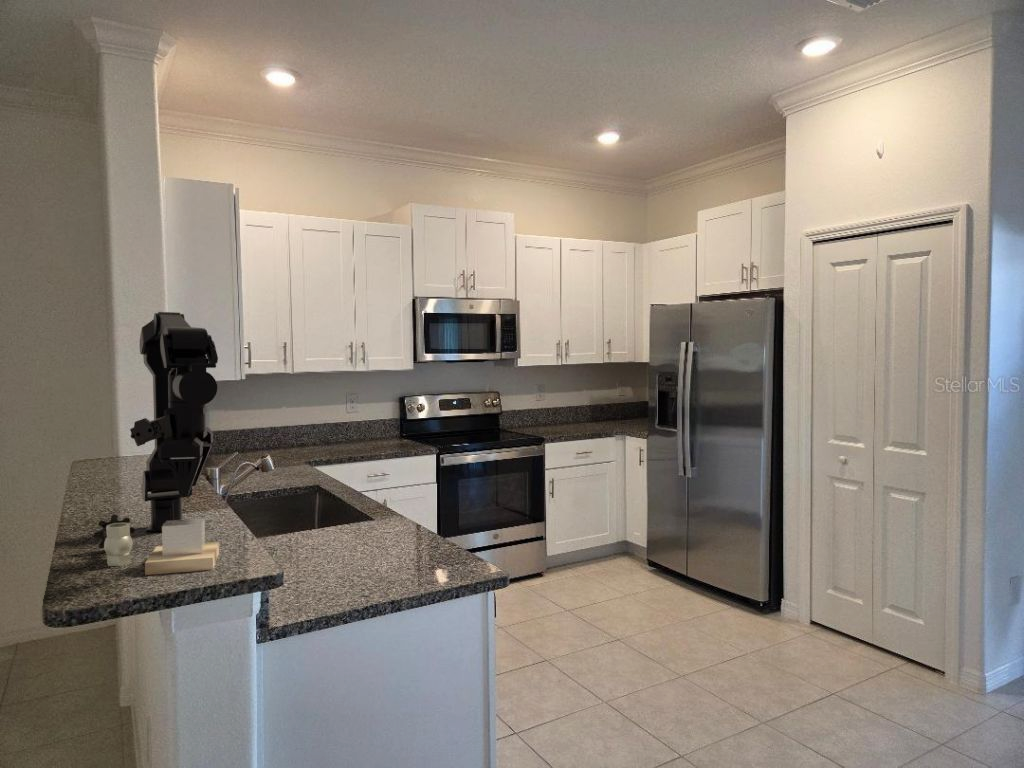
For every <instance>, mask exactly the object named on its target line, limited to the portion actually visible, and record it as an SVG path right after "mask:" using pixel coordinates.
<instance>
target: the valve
mask: <svg viewBox="0 0 1024 768" xmlns="http://www.w3.org/2000/svg"><path fill="white" fill-rule="evenodd" d="M118 518H119V517H118V514H117V513H112V514H111V515H110V520H108V521H106V520H104V519H99V520H98V522H97V525H98V526H99V527H101V528H100V530H94V532H93V533H92V536H93V538H94V539H98V538H100V539H101V540H100V541H99V542H98V543H97V544H98V545H97V546H98V547H99V548H100V549H103V550H104V551H105V553H106V564H108V565H107V566H108V567H121V566H125V565H128V564H131V550H132V548H133V542H134V541H133V538H132V536H131V534H135V533H136V528H135V527H134V526H130V523H131V518H130V517H129V516H124V517H123V519H121V520H120V519H118ZM105 533H106V537H105Z"/></svg>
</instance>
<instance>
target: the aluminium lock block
mask: <svg viewBox="0 0 1024 768" xmlns="http://www.w3.org/2000/svg"><path fill="white" fill-rule="evenodd" d="M205 520H206V518H205V517H204V518H190V519H186V518H185V519H182V520H170V521H166V522H165V523H164V524H163V526H162V531H161V539H162V540H161V543H162V544H161V546H162V556H174V555H188V554H201V553H203V550H204V548H205V543H206V521H205Z"/></svg>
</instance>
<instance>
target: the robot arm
mask: <svg viewBox="0 0 1024 768" xmlns="http://www.w3.org/2000/svg"><path fill="white" fill-rule="evenodd" d="M216 348H217V347H216V344H215V341H214V340H213V339H212V335H211V334H209V333H208V331H207V329H206V328H204V327H193V326H191V325H190V324H189V323H188V322H187V321H186V319H185V315H184V313H181V312H176V311H175V312H173V311H172V312H171V311H167V312H166V311H158V312H155V313H154V315H153V318H152V319H151V320H150V321H148V323H146V324H145V325H144V326H142V327H141V330H140V335H139V353H140V355H142V357H143V364H144V366H145V367H146V368H147V370H148V371H149V372H150V375H151V376H152V388H153V389H152V390H153V391H152V392H153V393H152V394H153V396H152V397H153V420H149V419H148V418H146V417H145V418H141V419H140V420H135V421H134V424H133V427H131V428H129V430H130V438H131V439H132V440H133V441H134V442H135V445H136V447H140V446H144V445H145V444H146V443H149V442H151V441H153V440H154V449H153V451H152V452H151V454H150V455H149V457H147V460H146V462H145V463H146V464H145V465H146V467H145V469H146V470H143V472H142V479H141V487H140V490H141V498H142V500H143V502H149V503H150V505H149V506H150V524H149V525H148V527H146V529H145V532H147V533H148V532H149V533H151V532H152V533H153V532H162V526H163V524H164V523H165V522H166V521H170V520H183V498H190V497H191V496H193V487H195V486H196V485H197V483H198V480H199V478H200V476H201V473H202V471H203V468H204V466H205V463H206V461H207V458H208V456H209V453H210V451H211V449H212V447H213V446H212V443H214V431H213V430H211V428H209V427H208V426H207V427H206V421H207V420H206V413H207V412H208V406H207V404H209V403H210V402H212V401H213V400H214V398H216V395H217V392H218V383H217V381H216V379H215V377H214V376H213V375H212V374H211V373H210V372H208V371H207V369H210V368H211V369H216V368H217V364H218V361H219V357H218V352H217V349H216ZM204 443H207V444H204Z"/></svg>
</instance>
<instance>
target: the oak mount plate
mask: <svg viewBox="0 0 1024 768" xmlns="http://www.w3.org/2000/svg"><path fill="white" fill-rule="evenodd" d="M219 555H220V541H211V542H209V541H208V542H205V548H204V550H203V553H201V554H188V555H174V556H162V545H156V547H155V548H154V550H152V552H151V553H150V555H149V556H148V558H147V559H146V560H145V562H144V573H145V576H151V575H152V576H153V575H163V574H174V573H175V574H176V573H188V572H189V573H190V572H200V571H211V570H212V571H213V570H214V568H215V566H216V563H217V560H218V558H219Z"/></svg>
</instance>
